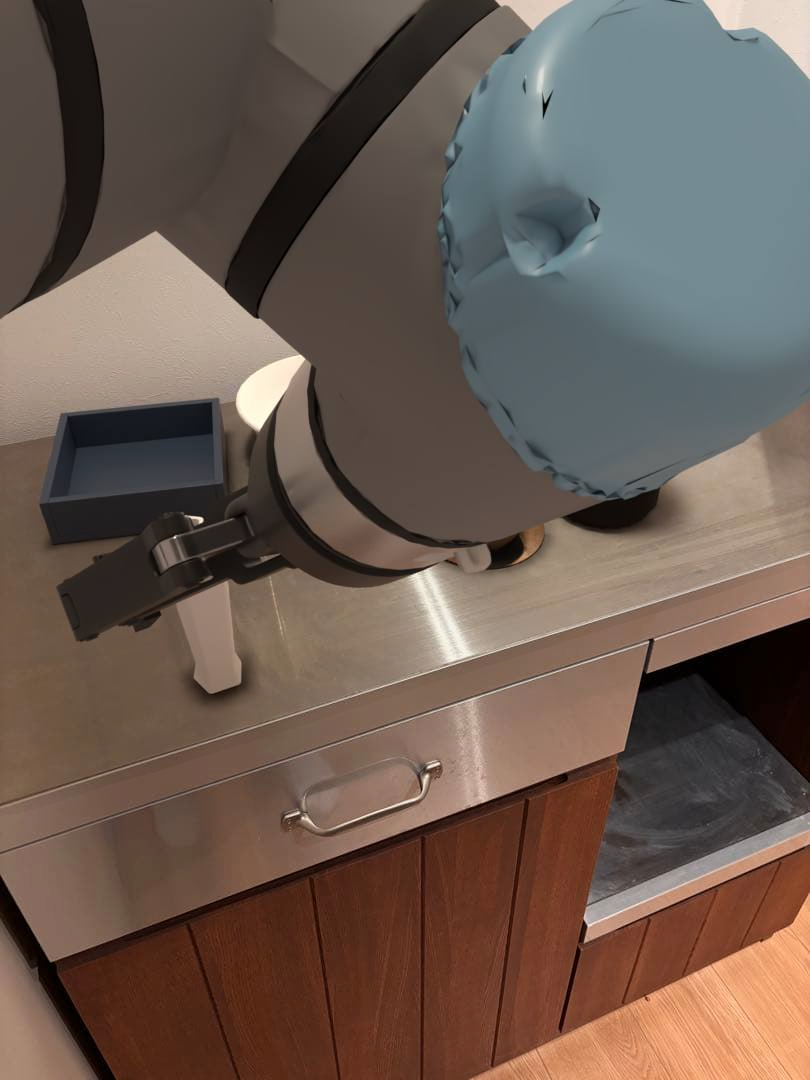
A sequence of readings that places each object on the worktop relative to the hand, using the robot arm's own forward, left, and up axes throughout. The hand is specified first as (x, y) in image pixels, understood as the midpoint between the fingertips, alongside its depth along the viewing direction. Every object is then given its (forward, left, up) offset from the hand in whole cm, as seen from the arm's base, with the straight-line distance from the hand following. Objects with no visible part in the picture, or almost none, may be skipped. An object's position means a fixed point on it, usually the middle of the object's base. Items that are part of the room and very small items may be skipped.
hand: (256, 560), depth 46 cm
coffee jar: (+34, +28, -21) cm, 48 cm away
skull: (+21, +26, -21) cm, 39 cm away
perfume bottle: (-4, +12, -21) cm, 24 cm away
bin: (-11, +40, -21) cm, 46 cm away
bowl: (+9, +44, -21) cm, 49 cm away
